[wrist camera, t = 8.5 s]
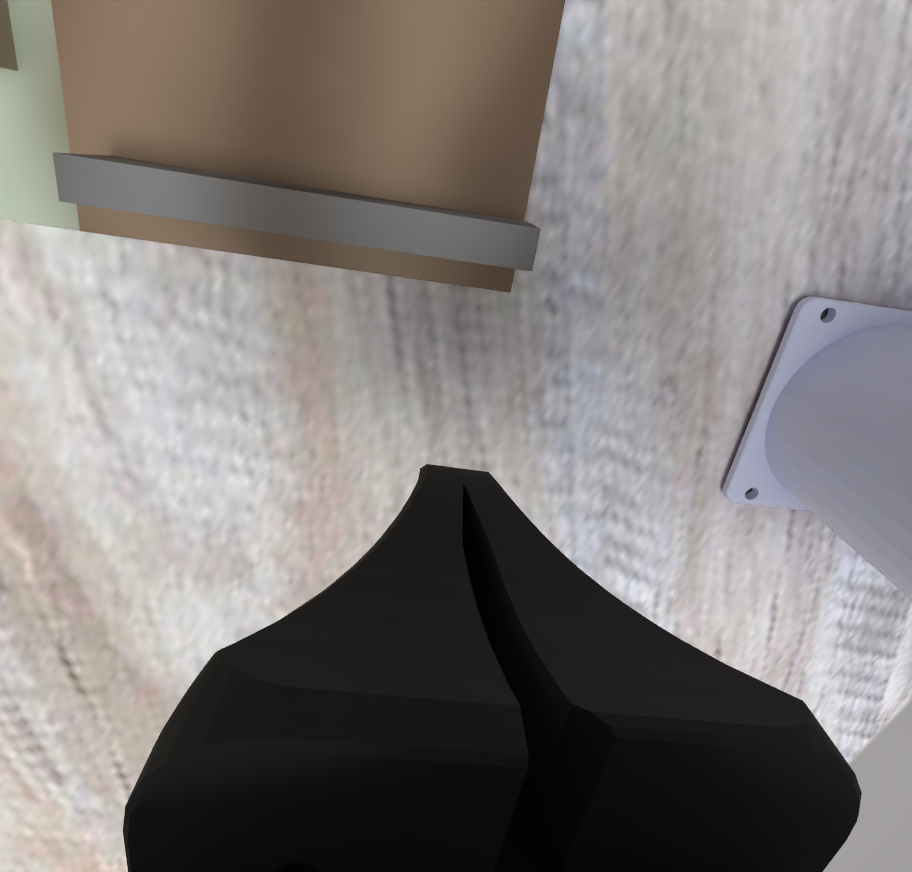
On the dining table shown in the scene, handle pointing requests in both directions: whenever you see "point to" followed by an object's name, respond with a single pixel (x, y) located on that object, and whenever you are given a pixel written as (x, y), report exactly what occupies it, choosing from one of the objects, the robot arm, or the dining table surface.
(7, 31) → the birch block
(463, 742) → the robot arm
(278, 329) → the dining table surface
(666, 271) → the dining table surface
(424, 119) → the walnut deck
